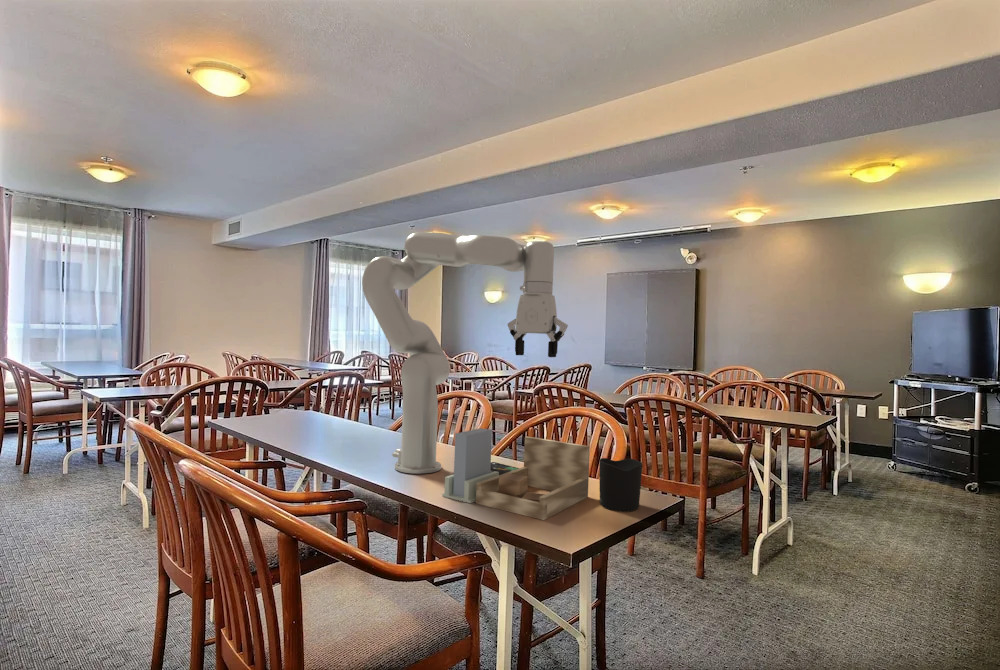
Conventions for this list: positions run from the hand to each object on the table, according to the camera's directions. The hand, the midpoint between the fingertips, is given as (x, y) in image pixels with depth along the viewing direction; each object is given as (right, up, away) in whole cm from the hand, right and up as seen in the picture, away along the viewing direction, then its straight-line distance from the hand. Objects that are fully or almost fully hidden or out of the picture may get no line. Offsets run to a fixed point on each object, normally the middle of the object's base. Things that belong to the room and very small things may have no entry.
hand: (535, 356), depth 143 cm
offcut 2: (-6, -32, -19) cm, 38 cm away
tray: (-2, -32, -17) cm, 36 cm away
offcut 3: (-2, -33, -23) cm, 40 cm away
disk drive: (-9, -33, +2) cm, 34 cm away
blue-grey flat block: (-16, -31, -14) cm, 38 cm away
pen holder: (+18, -33, -19) cm, 42 cm away
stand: (-16, -32, -14) cm, 38 cm away
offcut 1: (-6, -29, -20) cm, 36 cm away
